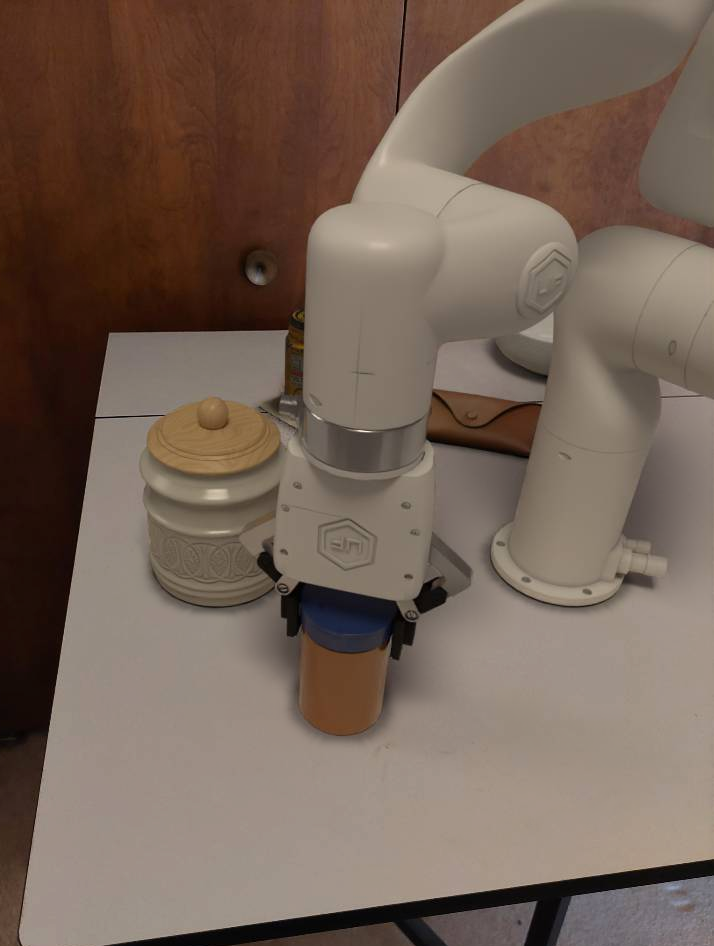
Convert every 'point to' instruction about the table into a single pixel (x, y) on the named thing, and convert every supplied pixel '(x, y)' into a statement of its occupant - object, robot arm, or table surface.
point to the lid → (346, 618)
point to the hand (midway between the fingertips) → (346, 634)
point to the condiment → (291, 364)
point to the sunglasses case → (482, 422)
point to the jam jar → (341, 686)
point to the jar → (210, 498)
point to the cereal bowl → (531, 346)
